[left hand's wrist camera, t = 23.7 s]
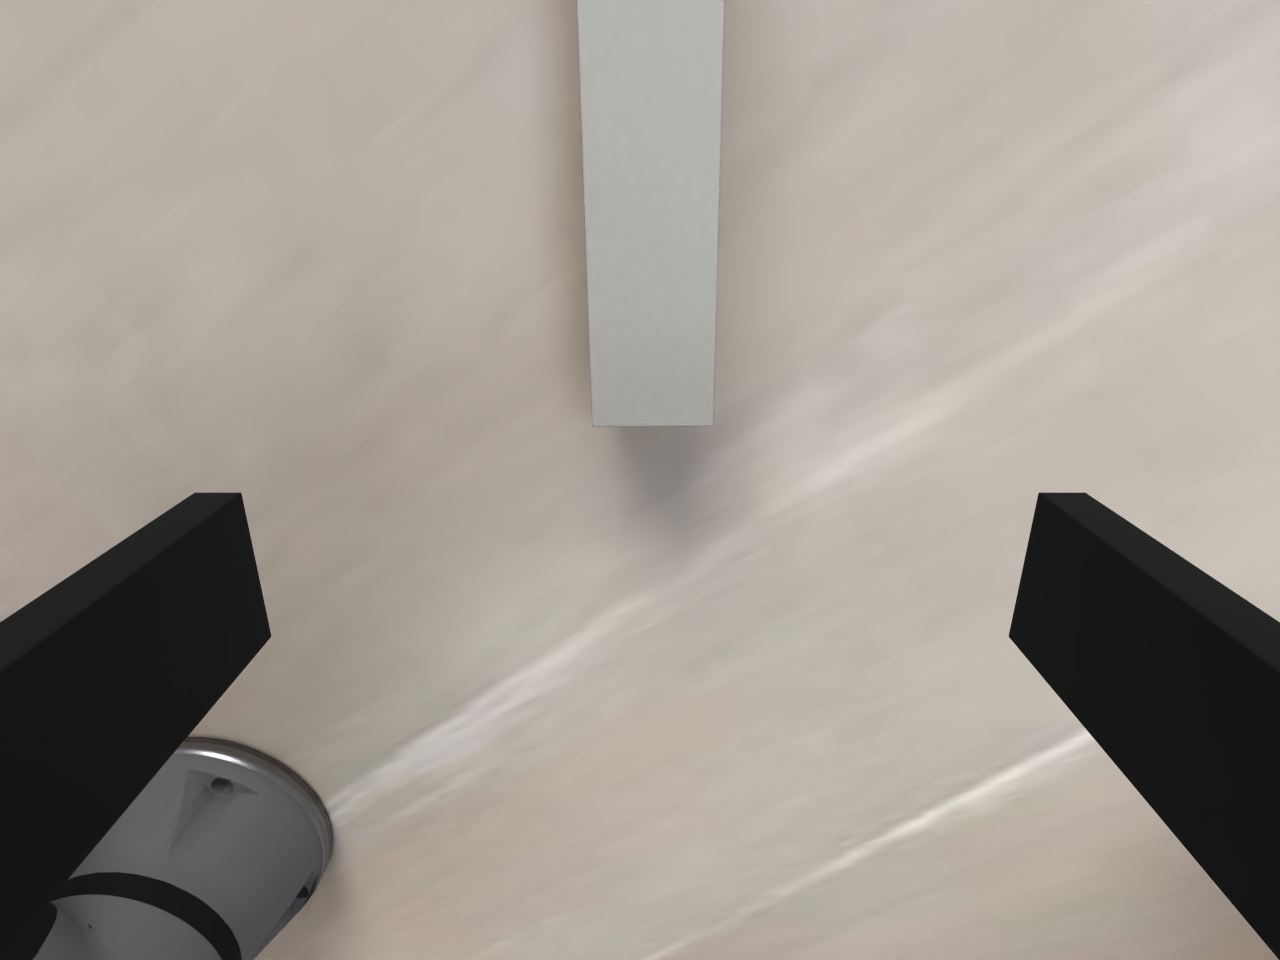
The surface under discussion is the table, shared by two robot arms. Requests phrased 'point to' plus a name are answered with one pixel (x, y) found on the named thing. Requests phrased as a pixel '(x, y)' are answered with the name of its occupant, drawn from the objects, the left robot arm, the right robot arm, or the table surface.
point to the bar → (651, 206)
